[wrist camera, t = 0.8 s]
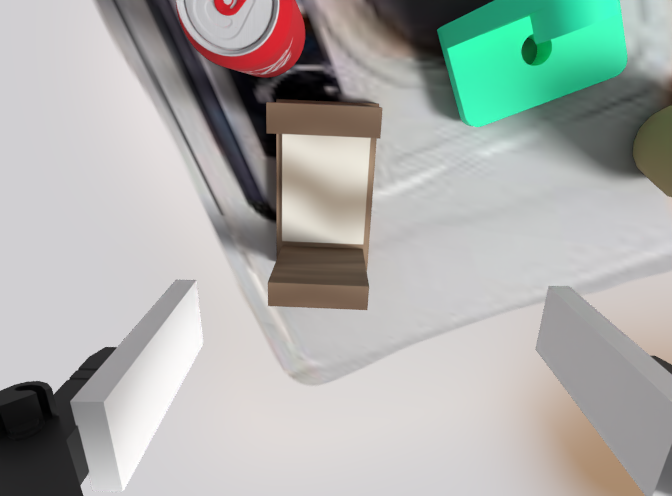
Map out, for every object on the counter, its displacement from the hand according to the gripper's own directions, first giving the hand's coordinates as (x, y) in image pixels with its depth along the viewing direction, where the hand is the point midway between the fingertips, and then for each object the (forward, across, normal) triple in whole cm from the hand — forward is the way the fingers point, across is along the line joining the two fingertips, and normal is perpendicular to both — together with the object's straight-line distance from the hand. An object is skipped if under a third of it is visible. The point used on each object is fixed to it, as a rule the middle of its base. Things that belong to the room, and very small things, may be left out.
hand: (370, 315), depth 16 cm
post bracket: (+22, -2, 0) cm, 22 cm away
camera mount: (+22, +13, +11) cm, 28 cm away
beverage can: (+22, -7, +12) cm, 26 cm away
